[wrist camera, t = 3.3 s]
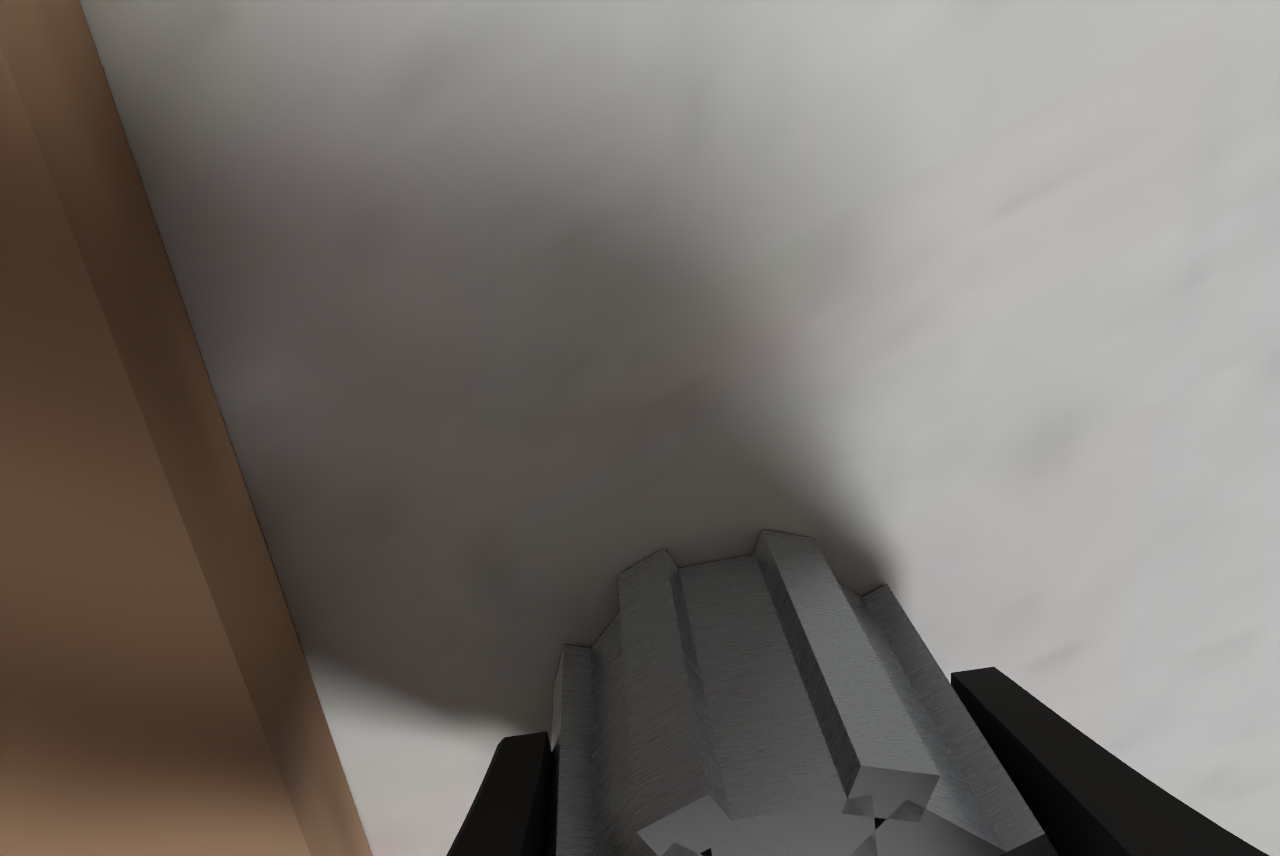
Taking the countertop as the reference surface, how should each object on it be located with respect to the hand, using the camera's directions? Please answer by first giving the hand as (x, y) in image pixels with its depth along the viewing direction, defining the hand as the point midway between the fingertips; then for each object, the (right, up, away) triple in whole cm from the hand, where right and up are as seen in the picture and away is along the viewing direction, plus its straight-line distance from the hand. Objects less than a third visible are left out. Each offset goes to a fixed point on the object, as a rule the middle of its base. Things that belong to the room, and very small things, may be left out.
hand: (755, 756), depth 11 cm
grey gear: (0, +1, +1) cm, 1 cm away
